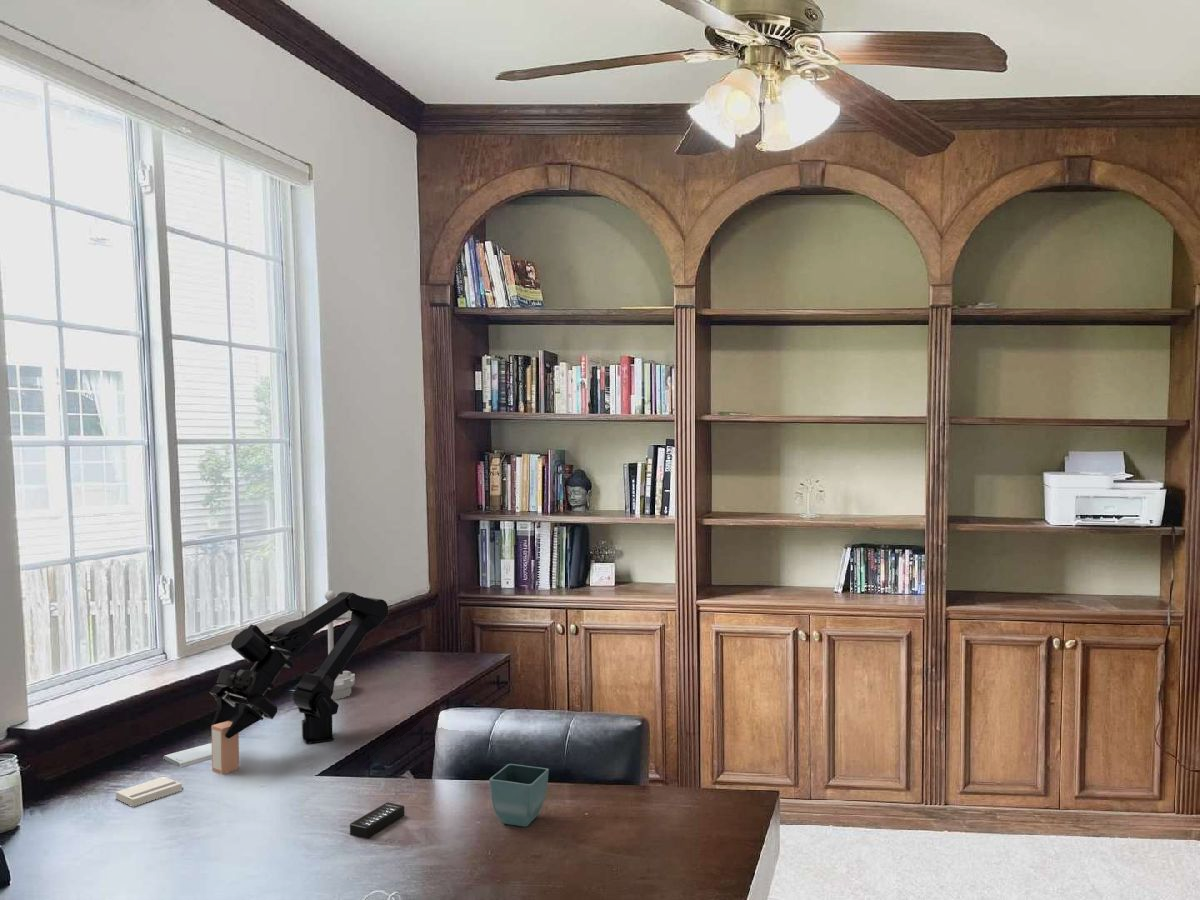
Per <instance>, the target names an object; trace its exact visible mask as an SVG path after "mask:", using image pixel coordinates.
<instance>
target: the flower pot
mask: <svg viewBox="0 0 1200 900" xmlns="http://www.w3.org/2000/svg"><path fill="white" fill-rule="evenodd" d="M549 771H550V769H549V768H547V767H546V768H545V767H539V766H531V765H523V764H516V763H515V764H514V763H508V764H506V765H505V766H504V767H502V768H501V769H500V770H499V771H498V772H496V773H495V774H494V775H492V776H491V777H490V778H489V787H490V788H489V789H490V795H491V802H492V807H493V810H494V811H495V812H494V813H495V814H496V816H497V817H498V819H499V820H500V822H501V823H503V824H505V825H512V826H518V827H528V826H529V825H530V824H531V823H532V822H533V821H534V820H535V819H537V817H538V815H539V813H540V811H541V809H542V807H543V805H544V802H545V799H546V796H547V789H548V781H549V773H550V772H549Z"/></svg>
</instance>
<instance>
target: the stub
mask: <svg viewBox="0 0 1200 900" xmlns="http://www.w3.org/2000/svg"><path fill="white" fill-rule="evenodd" d="M232 723H233V721H230V720H229V721H226V722H222V723H219V724H215V725H212V724H211V727H210V729H211V732H212V733H211V732H210V733H211V743H212V759H211V771H213V772H215V773H217V772H218V774H220V773H221V775H225V774H227V772H228V773H231V772H233V771H236V770H237V771H238V770H239V769H240V743H239V742H240V741H239V738H240V737H239V733H240V732H239V733H237V734H236V735H234V736H233V737H231V738H229V739H228V738H227V737H225V735H226V733H227V731H228V729H229V728H230V726H231V724H232ZM224 773H225V774H224Z"/></svg>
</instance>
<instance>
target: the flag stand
mask: <svg viewBox="0 0 1200 900" xmlns="http://www.w3.org/2000/svg"><path fill="white" fill-rule="evenodd" d="M335 597H336V592H335V591H334V590H331V589H330V590H327V591H326V592H325V594H324V599H325V600H326V601H327V602H329V601H330V600H332V599H333V598H335ZM327 602H326V603H327ZM334 644H335V642H334V621H332V622H331V623H329V624H328V625H327V656H328V655H329V653H330V652H331V651H332V649H333V648H334V646H335V645H334ZM355 683H356V676H355V673H352V671H349V670H342V674H341V673H340V674H339V675H338V677H337V678H336V680H335V681H334V689H333V694H332V696H331V699H332V700H334V701H335V700H340V698H341V699H344V697H345V698H347V697H346V696H348V697H349V696H351V695H352V687H353V686H355ZM350 694H351V695H350Z"/></svg>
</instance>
